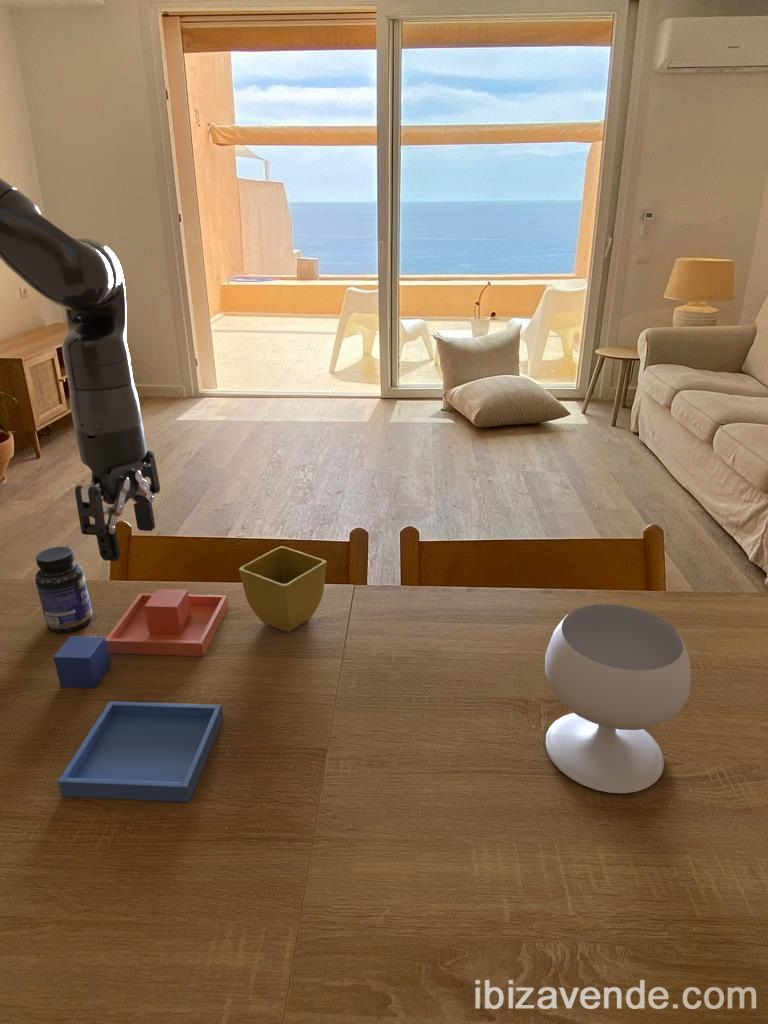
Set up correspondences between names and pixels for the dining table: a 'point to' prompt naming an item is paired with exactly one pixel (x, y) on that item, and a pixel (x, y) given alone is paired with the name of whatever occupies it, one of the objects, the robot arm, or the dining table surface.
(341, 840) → the dining table surface
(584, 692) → the chalice
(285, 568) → the flower pot
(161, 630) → the terracotta block
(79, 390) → the robot arm
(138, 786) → the slate-blue tray
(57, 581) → the pill bottle
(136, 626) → the terracotta tray
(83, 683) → the slate-blue block
